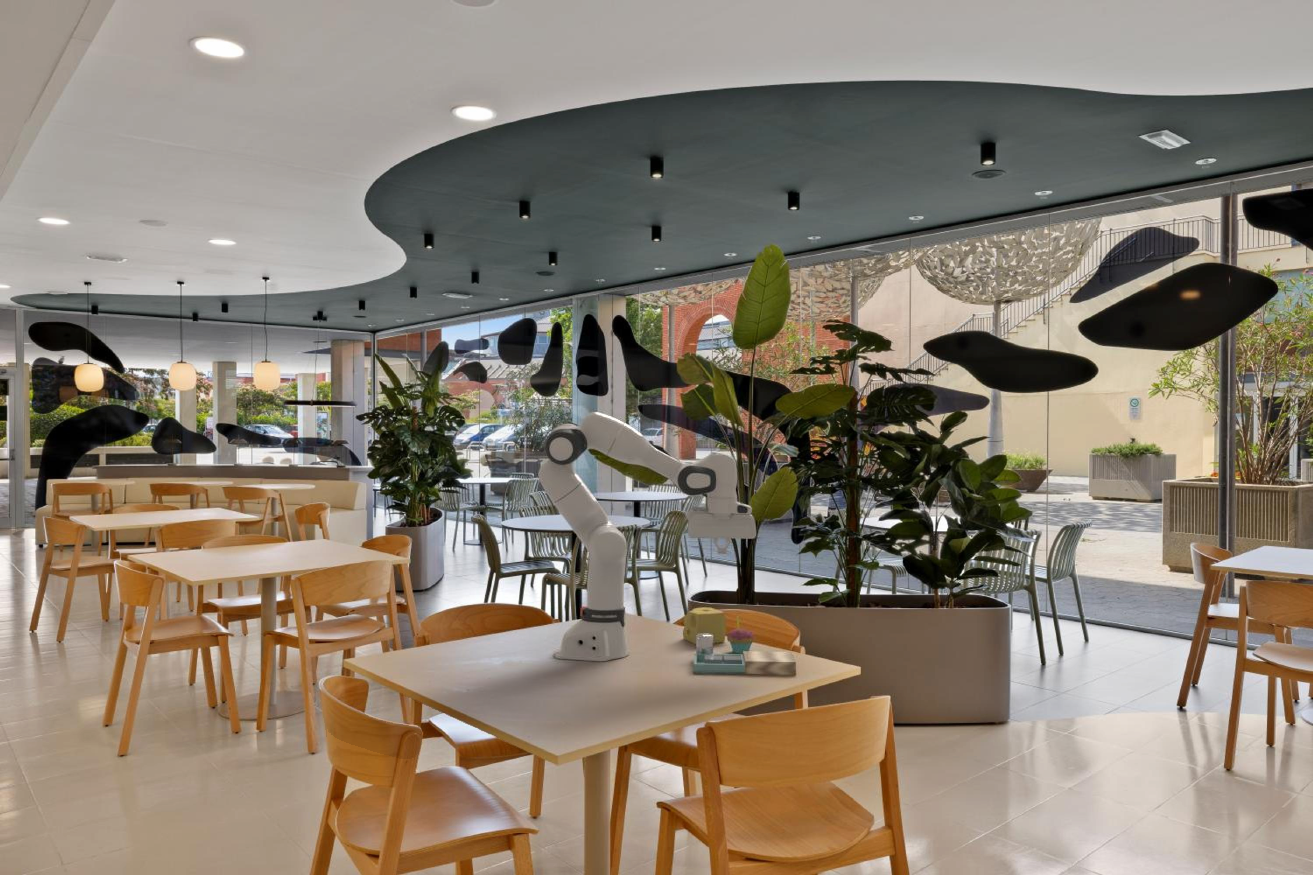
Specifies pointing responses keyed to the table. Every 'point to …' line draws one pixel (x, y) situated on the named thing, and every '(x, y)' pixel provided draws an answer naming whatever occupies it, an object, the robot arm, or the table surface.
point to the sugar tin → (704, 643)
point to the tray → (718, 665)
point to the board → (769, 663)
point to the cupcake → (740, 639)
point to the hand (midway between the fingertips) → (722, 553)
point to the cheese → (705, 624)
